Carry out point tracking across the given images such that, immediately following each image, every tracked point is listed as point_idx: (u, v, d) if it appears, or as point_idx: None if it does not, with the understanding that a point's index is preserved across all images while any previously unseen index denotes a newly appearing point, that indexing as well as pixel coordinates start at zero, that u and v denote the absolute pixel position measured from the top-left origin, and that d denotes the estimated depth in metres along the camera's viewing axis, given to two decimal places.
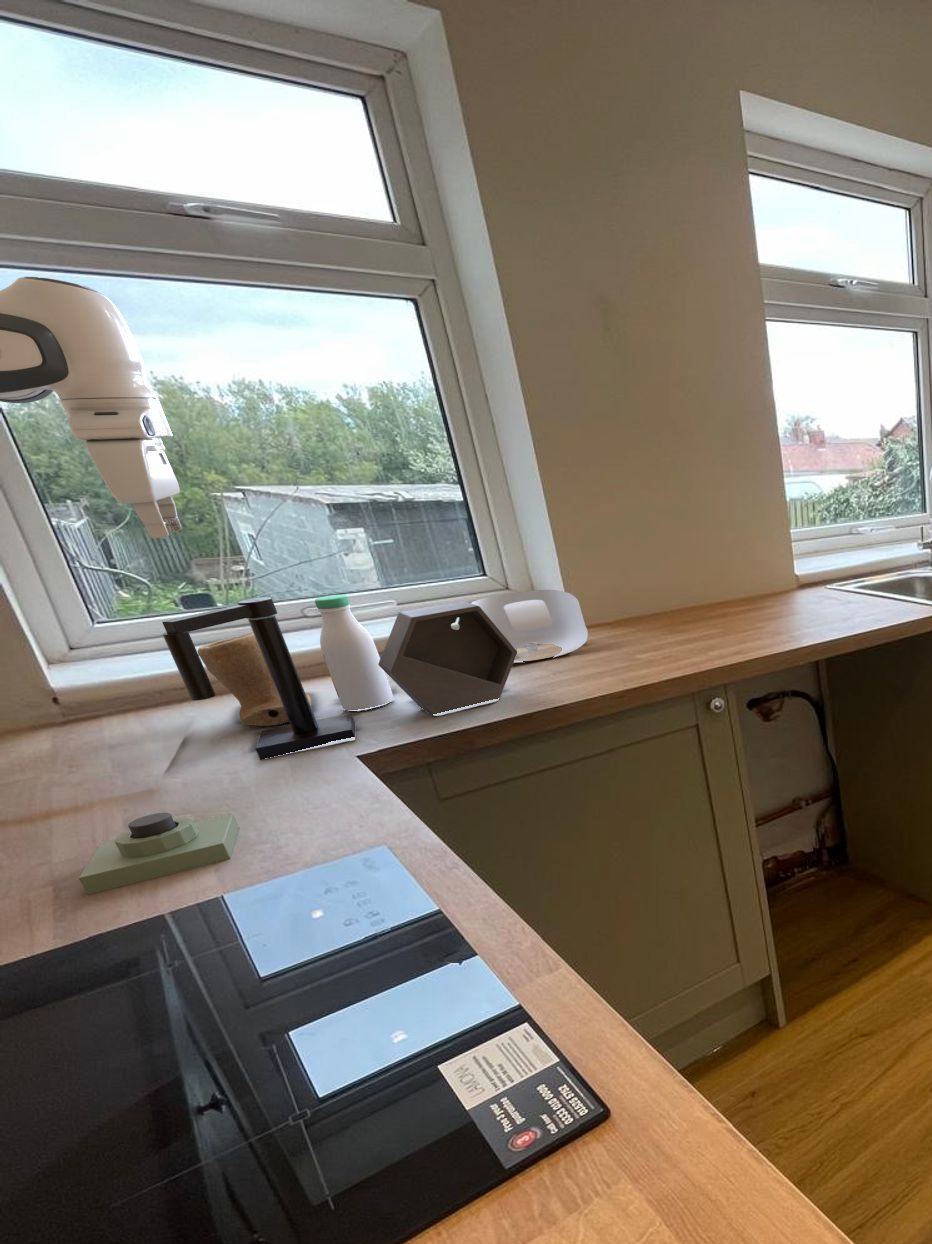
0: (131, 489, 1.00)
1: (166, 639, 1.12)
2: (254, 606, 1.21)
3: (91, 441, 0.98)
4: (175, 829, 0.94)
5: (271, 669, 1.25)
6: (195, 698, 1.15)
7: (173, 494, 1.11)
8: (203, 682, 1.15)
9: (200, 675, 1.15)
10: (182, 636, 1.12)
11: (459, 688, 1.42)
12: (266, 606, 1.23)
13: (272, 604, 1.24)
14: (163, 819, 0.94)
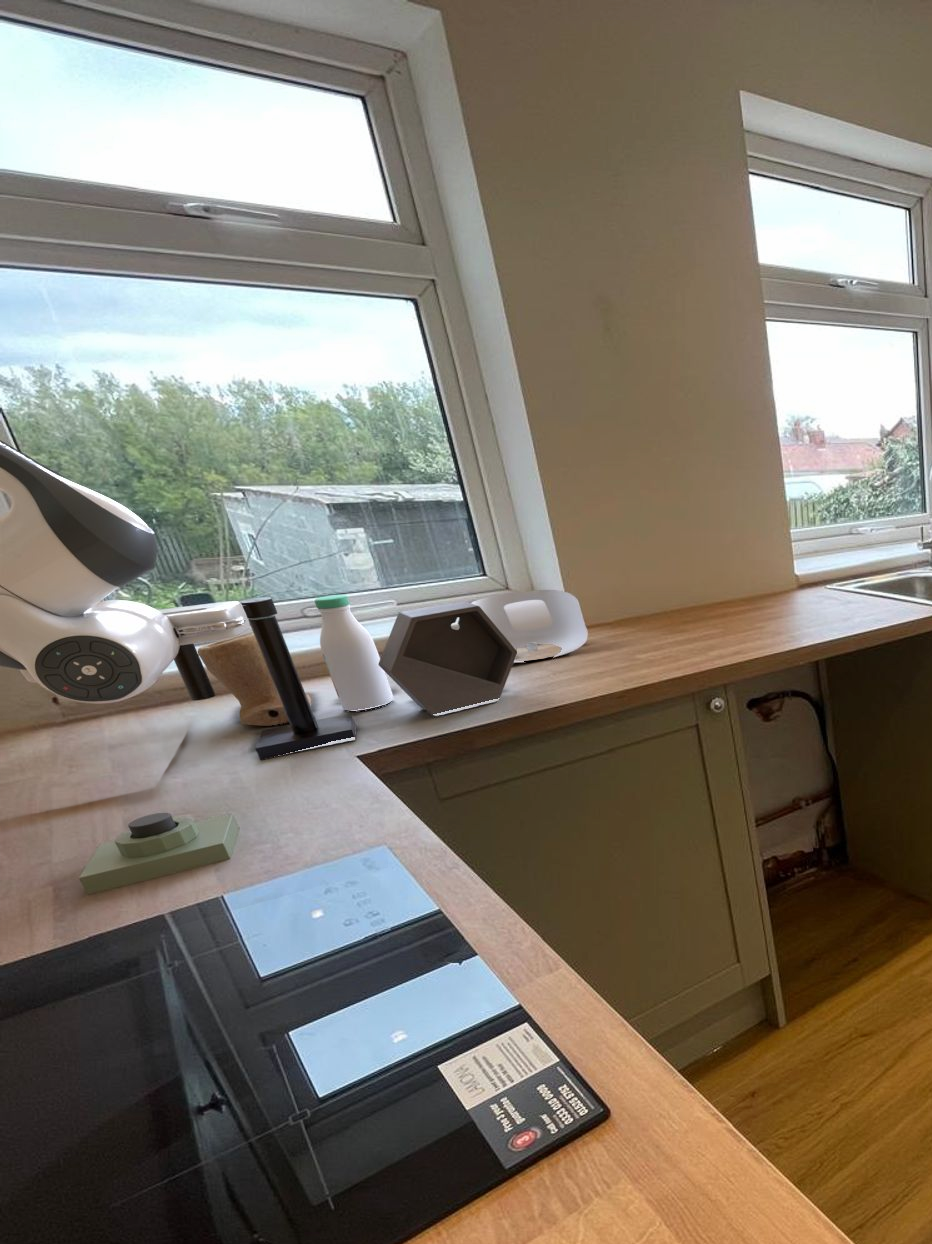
0: None
1: None
2: (254, 606, 1.21)
3: None
4: (175, 829, 0.94)
5: (271, 669, 1.25)
6: (195, 698, 1.15)
7: None
8: (203, 682, 1.15)
9: (200, 675, 1.15)
10: None
11: (459, 688, 1.42)
12: (266, 606, 1.23)
13: (272, 604, 1.24)
14: (163, 819, 0.94)
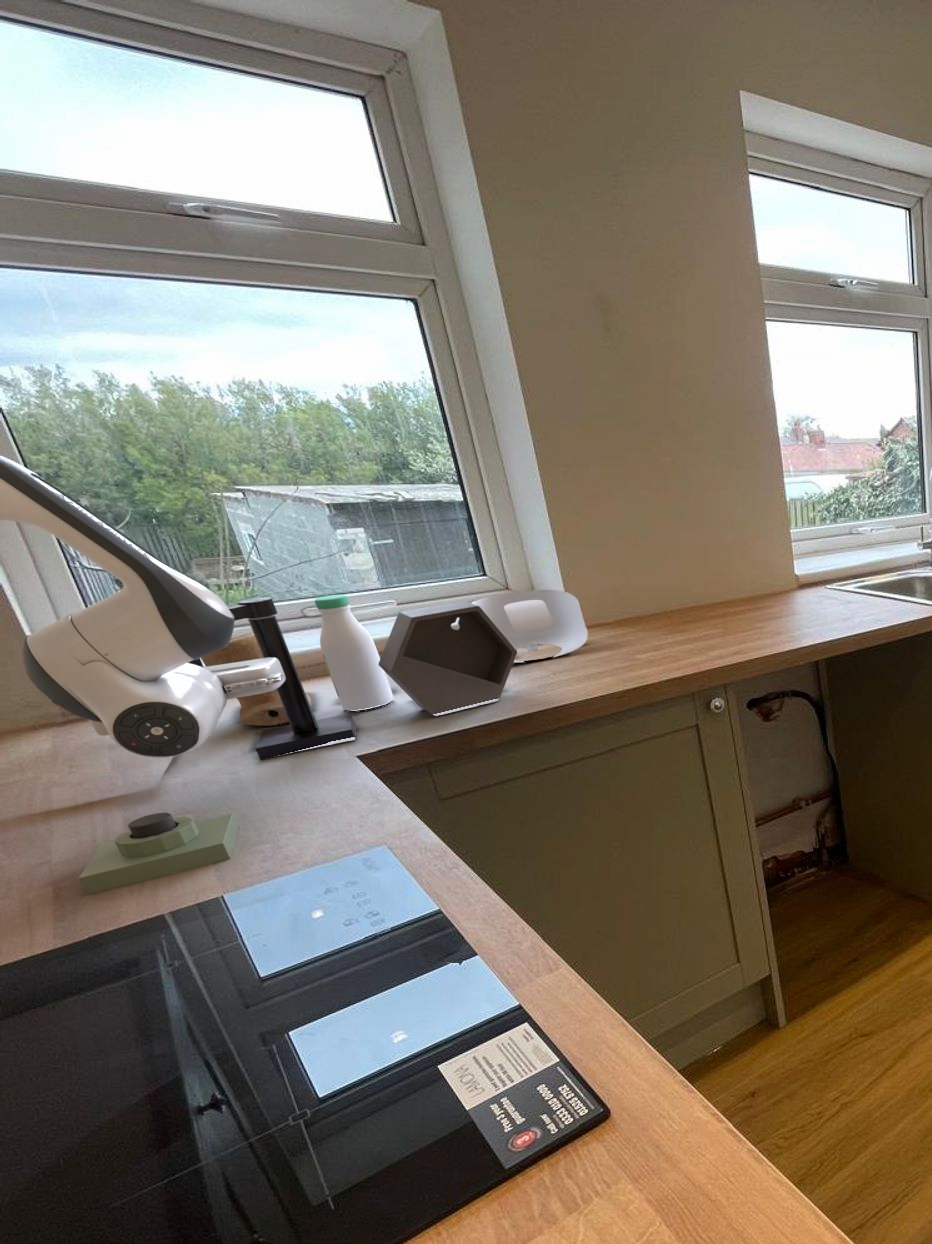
0: None
1: None
2: (254, 606, 1.21)
3: None
4: (175, 829, 0.94)
5: None
6: None
7: None
8: None
9: None
10: None
11: (459, 688, 1.42)
12: (266, 606, 1.23)
13: (272, 604, 1.24)
14: (163, 819, 0.94)
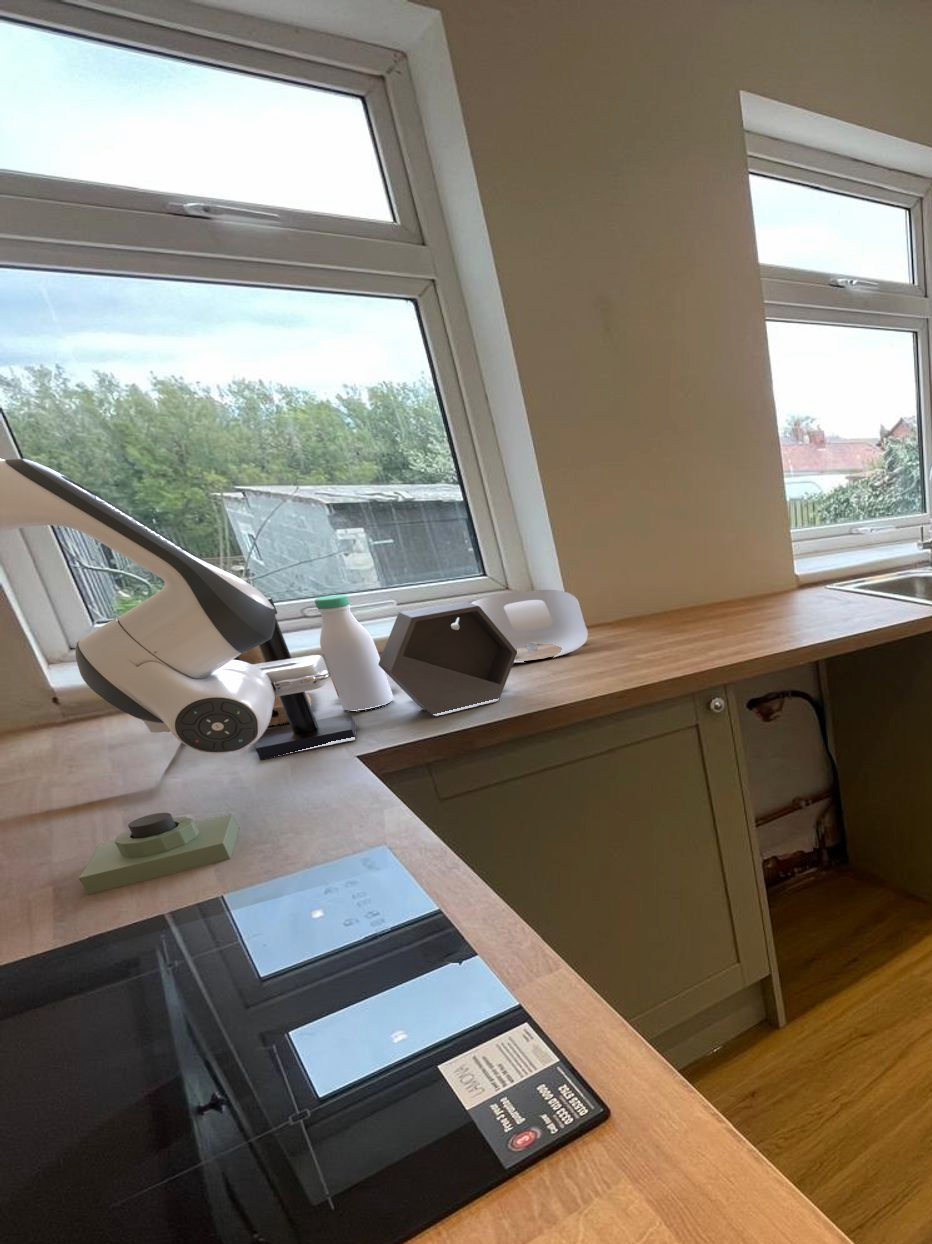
0: None
1: None
2: None
3: None
4: (175, 829, 0.94)
5: None
6: None
7: None
8: None
9: None
10: None
11: (459, 688, 1.42)
12: None
13: (273, 603, 1.24)
14: (163, 819, 0.94)
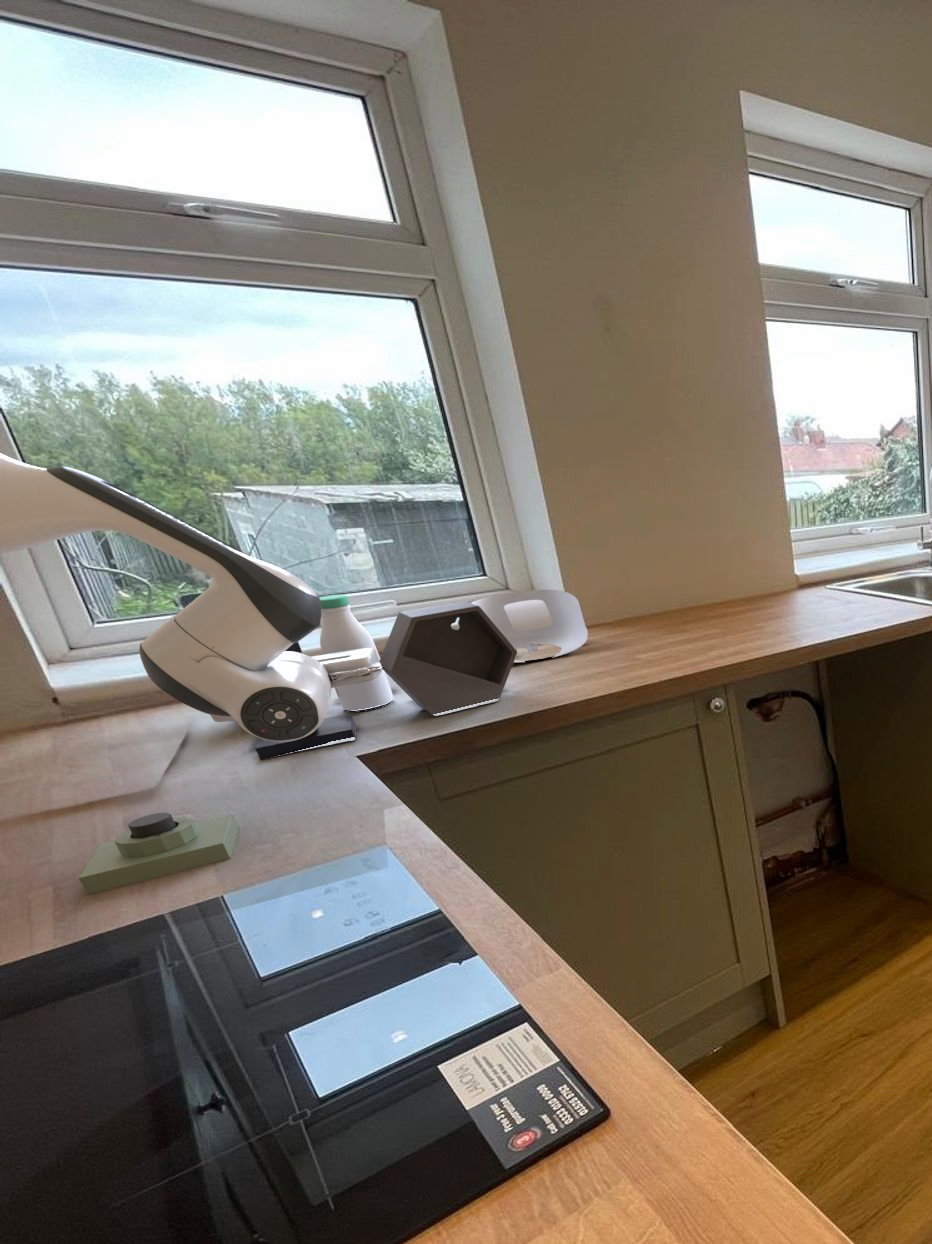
0: None
1: None
2: None
3: None
4: (175, 829, 0.94)
5: None
6: None
7: None
8: None
9: None
10: None
11: (459, 688, 1.42)
12: None
13: None
14: (163, 819, 0.94)
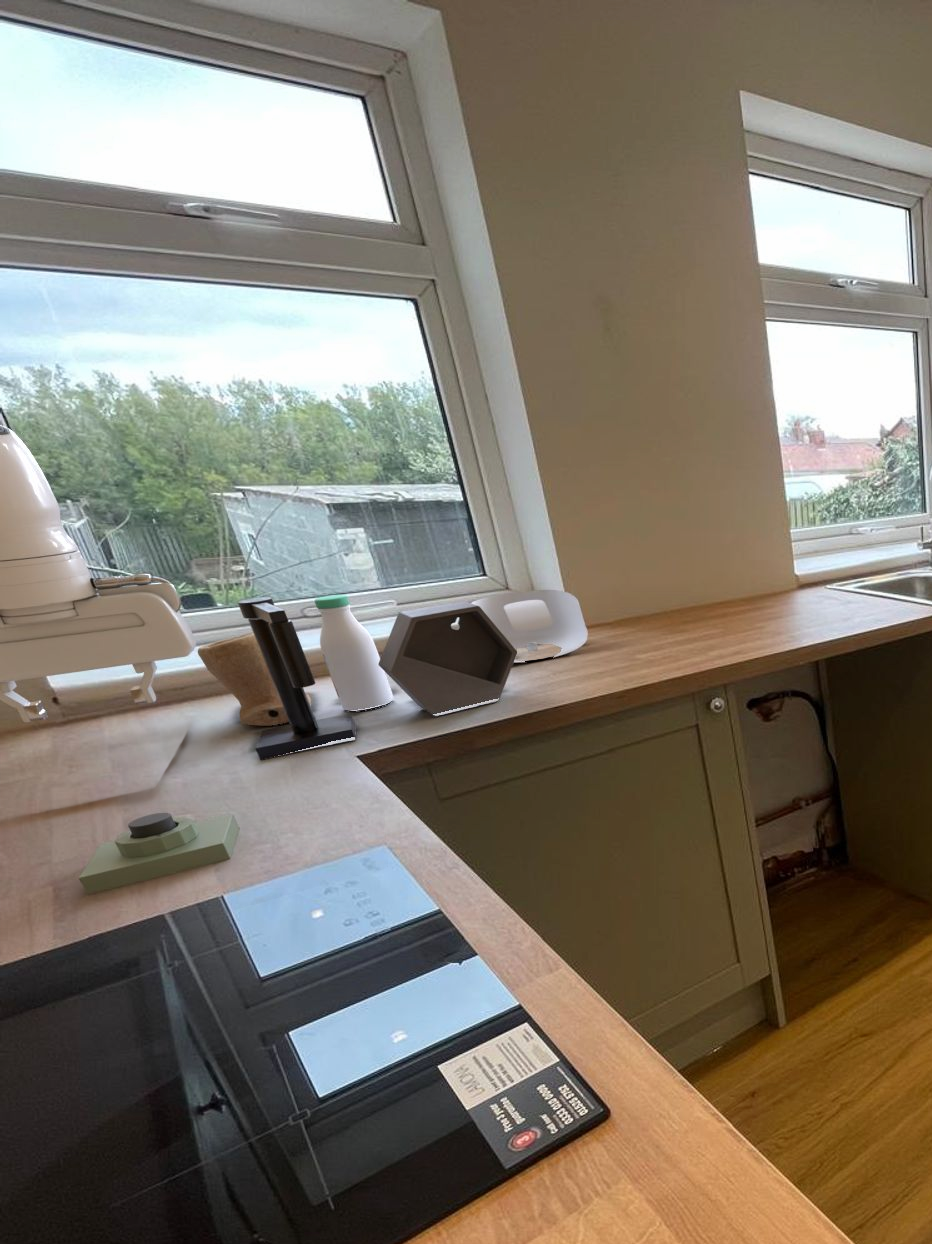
0: None
1: (282, 627, 1.16)
2: (270, 603, 1.23)
3: None
4: (175, 829, 0.94)
5: (271, 669, 1.25)
6: (308, 684, 1.20)
7: (117, 665, 0.88)
8: (309, 668, 1.20)
9: None
10: (292, 623, 1.17)
11: (459, 688, 1.42)
12: (273, 603, 1.24)
13: None
14: (163, 819, 0.94)
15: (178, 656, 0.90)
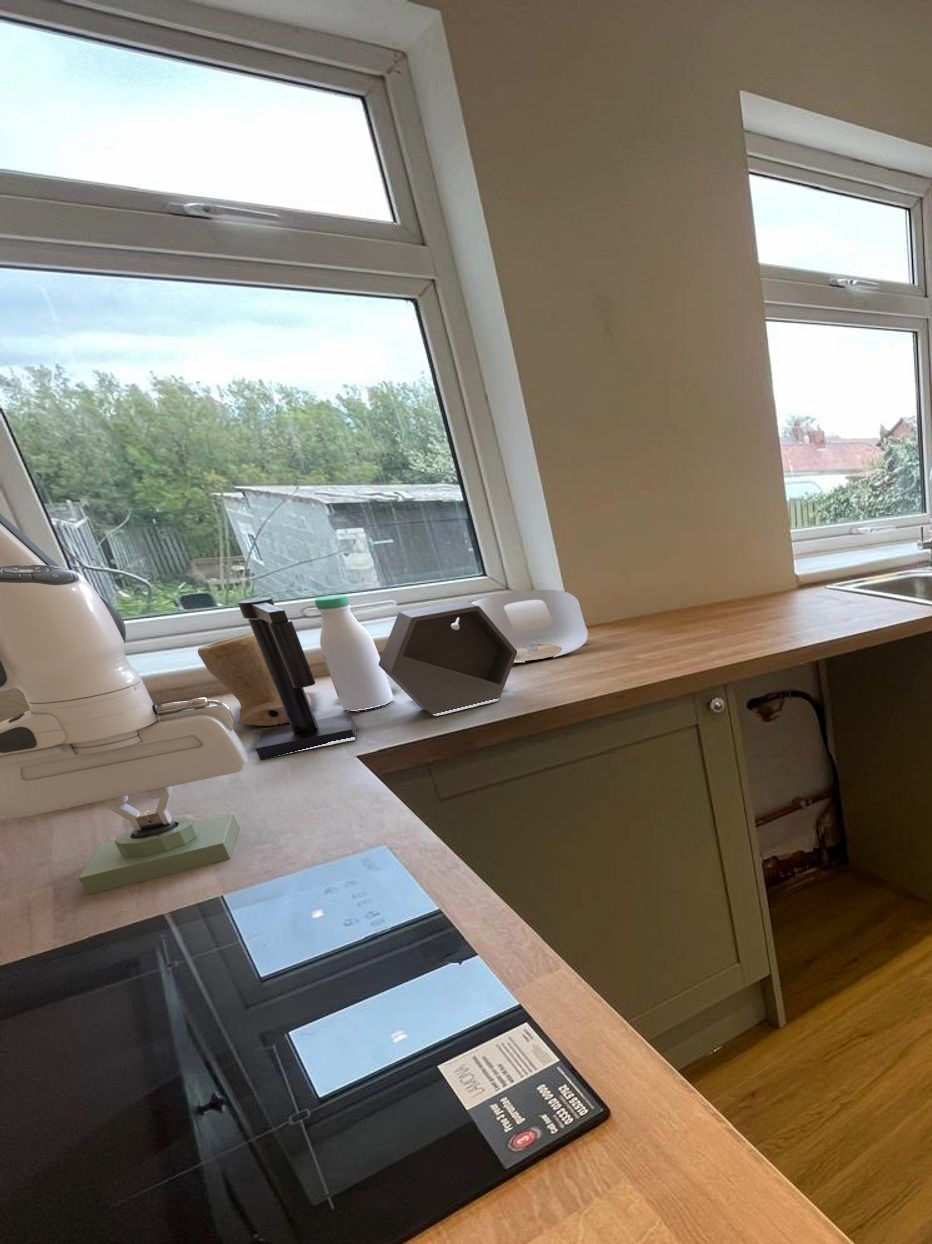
0: None
1: (282, 627, 1.16)
2: (270, 603, 1.23)
3: None
4: (175, 829, 0.94)
5: (271, 669, 1.25)
6: (308, 684, 1.20)
7: (177, 784, 0.93)
8: (309, 668, 1.20)
9: None
10: (292, 623, 1.17)
11: (459, 688, 1.42)
12: (273, 603, 1.24)
13: None
14: (167, 826, 0.94)
15: (233, 772, 0.96)
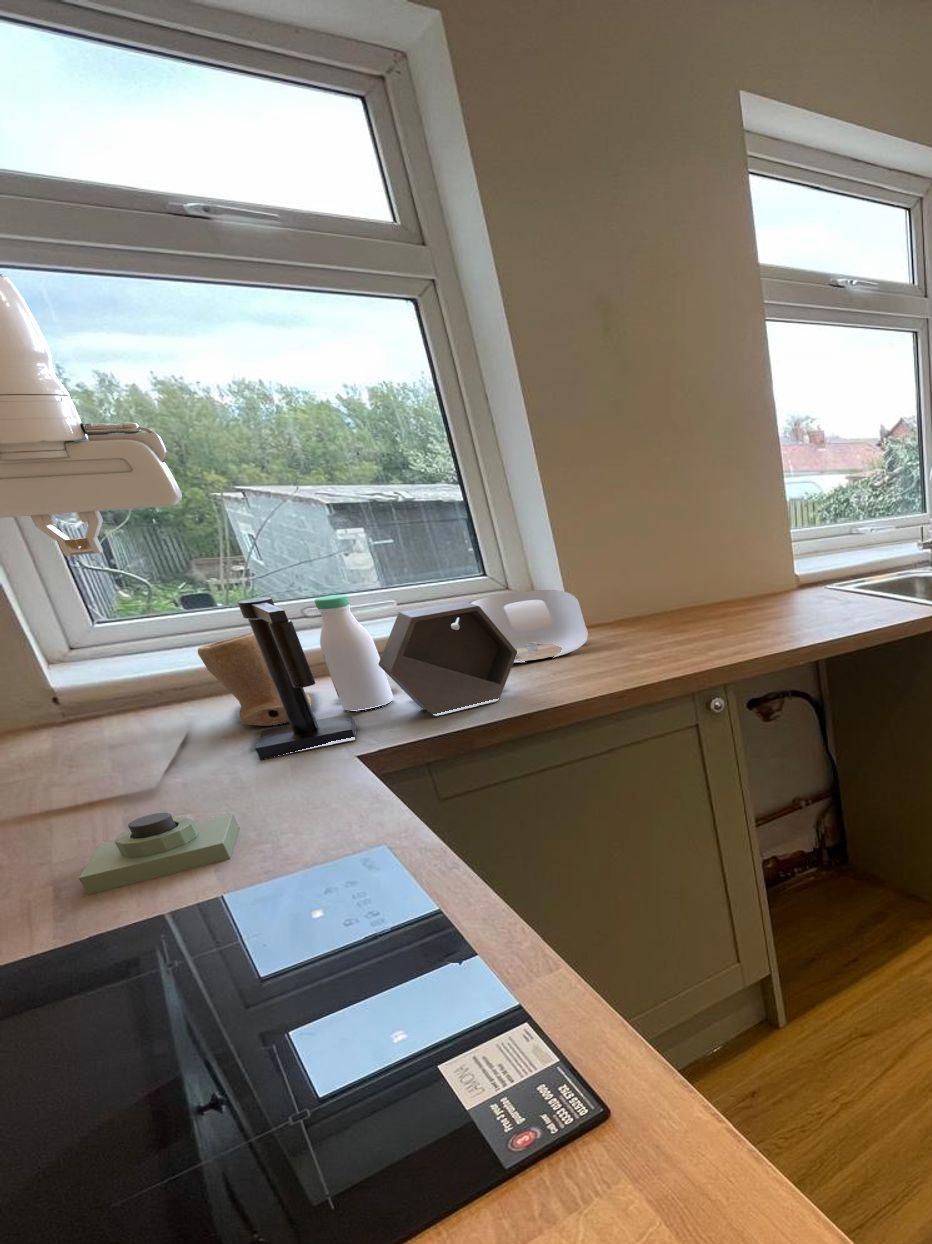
0: None
1: (282, 627, 1.16)
2: (270, 603, 1.23)
3: None
4: (175, 829, 0.94)
5: (271, 669, 1.25)
6: (308, 684, 1.20)
7: (107, 508, 0.93)
8: (309, 668, 1.20)
9: None
10: (292, 623, 1.17)
11: (459, 688, 1.42)
12: (273, 603, 1.24)
13: None
14: (163, 819, 0.94)
15: (165, 504, 0.95)
